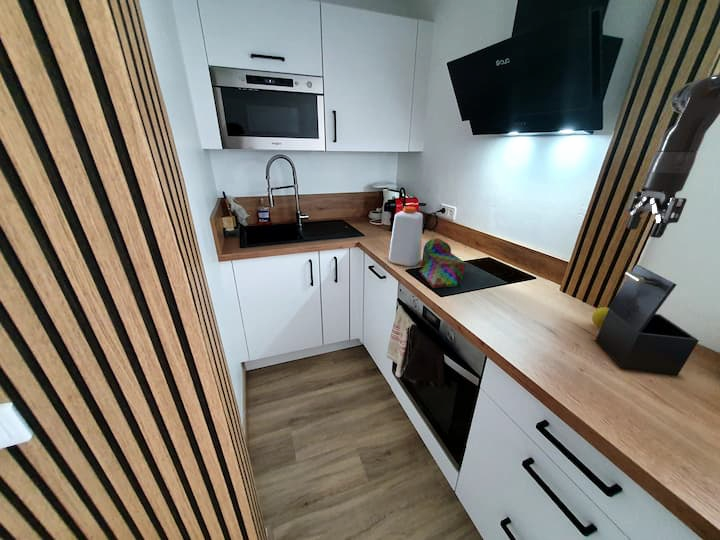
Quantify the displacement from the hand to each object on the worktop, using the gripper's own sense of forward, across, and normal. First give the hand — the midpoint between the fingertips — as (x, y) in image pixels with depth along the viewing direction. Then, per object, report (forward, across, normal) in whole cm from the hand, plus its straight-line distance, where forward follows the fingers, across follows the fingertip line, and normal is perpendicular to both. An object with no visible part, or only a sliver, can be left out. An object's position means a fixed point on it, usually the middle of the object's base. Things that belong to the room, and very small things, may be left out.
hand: (642, 232), depth 78 cm
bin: (+35, -9, -4) cm, 36 cm away
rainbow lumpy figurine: (+34, +40, +47) cm, 71 cm away
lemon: (+35, +6, -3) cm, 36 cm away
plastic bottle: (+34, +55, +63) cm, 90 cm away
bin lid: (+16, -9, +1) cm, 18 cm away
